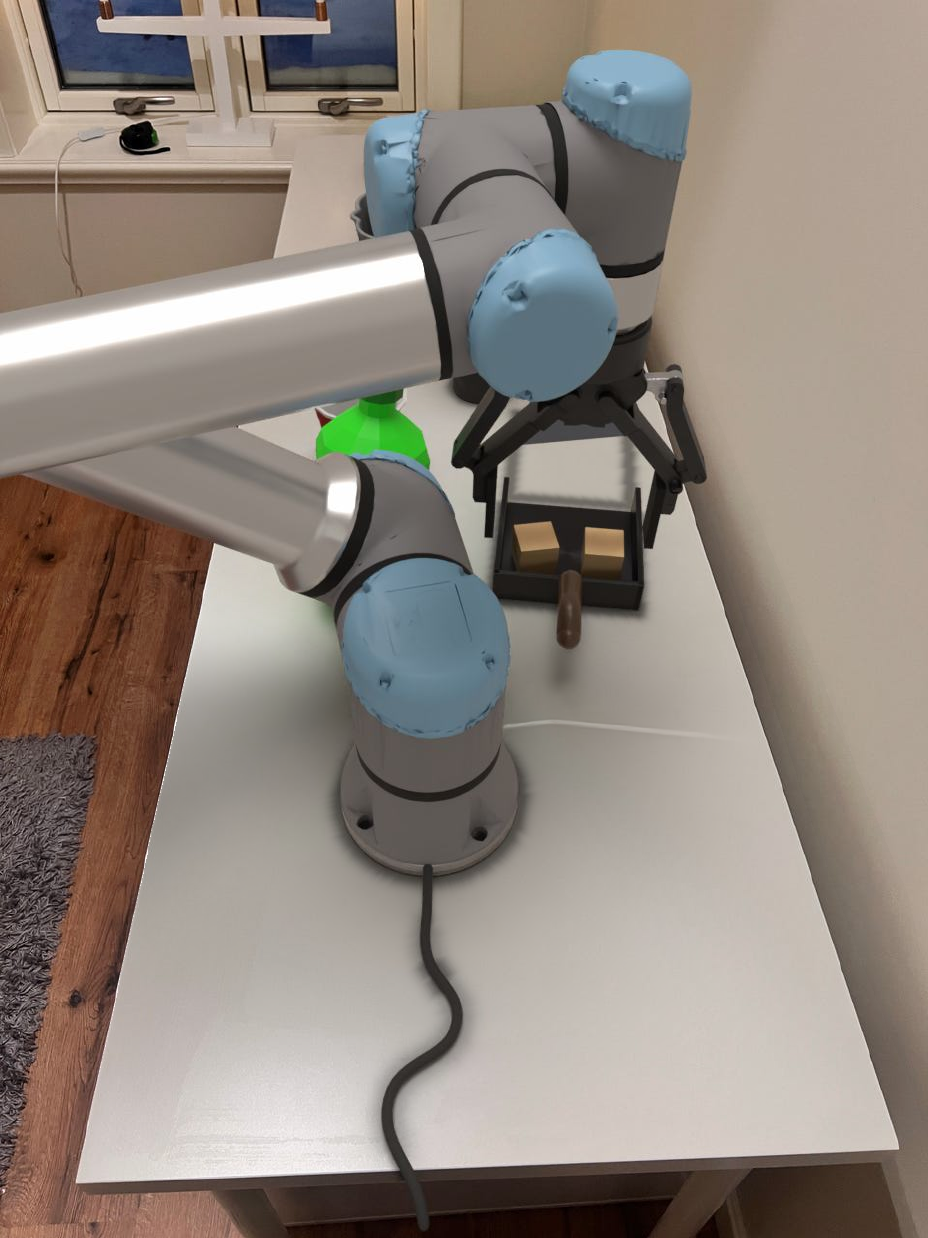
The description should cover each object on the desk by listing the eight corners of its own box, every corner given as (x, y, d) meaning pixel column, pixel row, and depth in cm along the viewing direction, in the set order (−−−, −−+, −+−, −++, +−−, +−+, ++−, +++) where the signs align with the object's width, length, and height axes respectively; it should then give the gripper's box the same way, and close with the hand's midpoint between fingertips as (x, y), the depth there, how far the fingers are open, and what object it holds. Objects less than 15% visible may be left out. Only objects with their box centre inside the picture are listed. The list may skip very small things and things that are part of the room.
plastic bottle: (401, 565, 102) (428, 348, 86) (415, 631, 94) (447, 406, 78) (307, 564, 100) (316, 342, 84) (313, 632, 92) (324, 401, 76)
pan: (640, 701, 90) (654, 646, 84) (482, 686, 90) (485, 631, 84) (635, 515, 107) (646, 459, 101) (502, 505, 108) (505, 448, 102)
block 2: (618, 584, 99) (624, 556, 96) (580, 580, 99) (584, 553, 96) (618, 557, 102) (623, 529, 99) (581, 554, 102) (585, 526, 99)
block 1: (556, 574, 100) (559, 547, 97) (518, 578, 99) (521, 551, 96) (547, 548, 102) (551, 521, 99) (511, 552, 102) (513, 524, 99)
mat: (630, 506, 108) (630, 505, 108) (507, 497, 109) (507, 495, 109) (628, 421, 119) (628, 420, 118) (516, 413, 119) (516, 412, 119)
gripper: (772, 291, 68) (709, 513, 84) (426, 271, 69) (428, 494, 85) (788, 349, 63) (718, 573, 79) (415, 326, 64) (419, 552, 80)
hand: (568, 532), depth 82 cm, fingers open, 13 cm apart
